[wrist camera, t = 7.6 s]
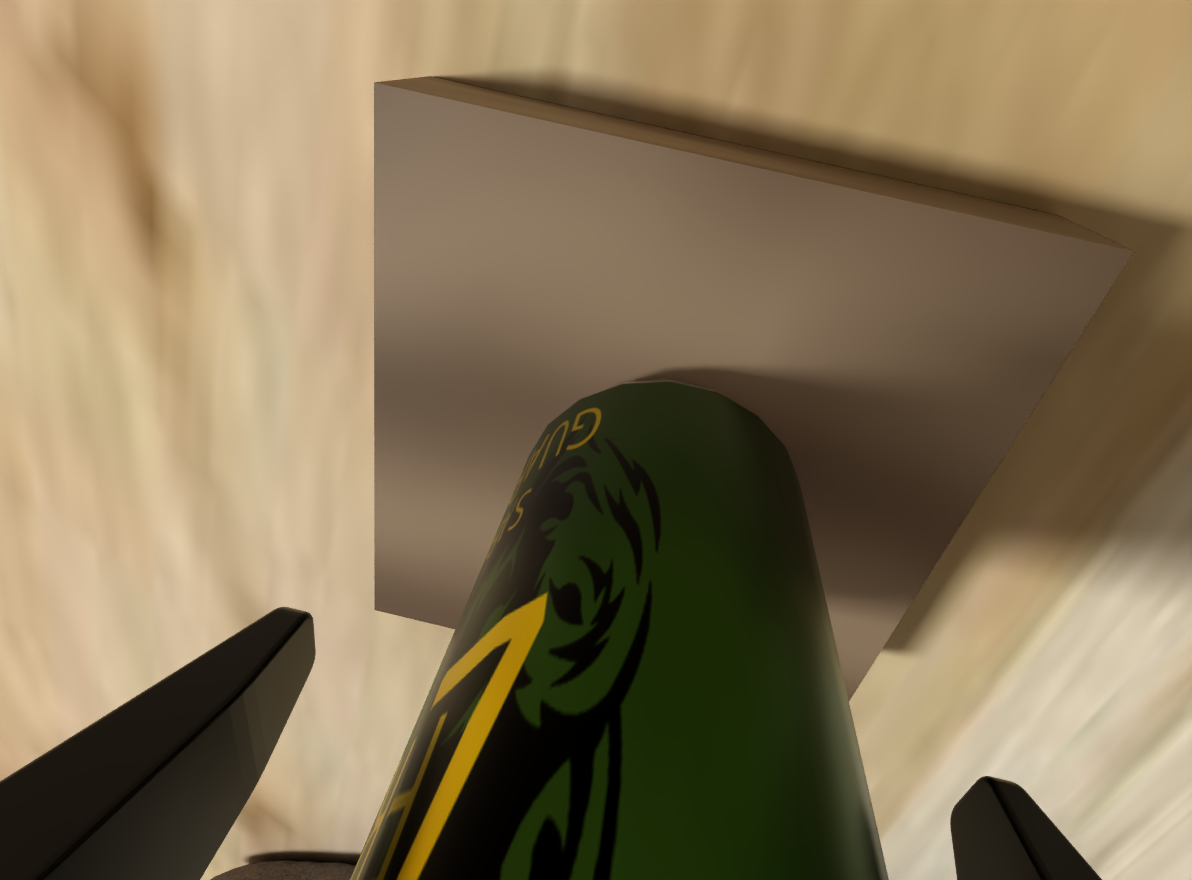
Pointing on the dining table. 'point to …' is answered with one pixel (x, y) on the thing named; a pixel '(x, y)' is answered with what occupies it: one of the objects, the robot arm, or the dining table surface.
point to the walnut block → (697, 329)
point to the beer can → (639, 671)
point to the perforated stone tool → (290, 871)
